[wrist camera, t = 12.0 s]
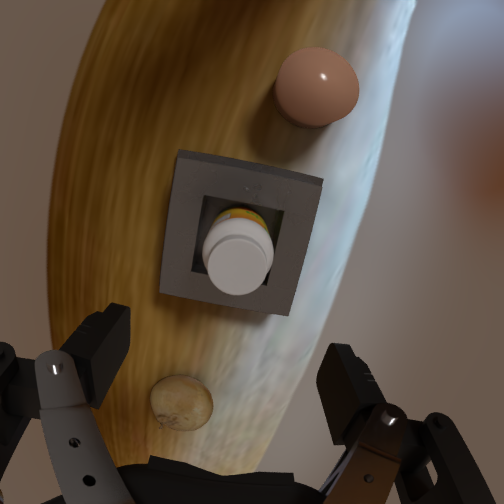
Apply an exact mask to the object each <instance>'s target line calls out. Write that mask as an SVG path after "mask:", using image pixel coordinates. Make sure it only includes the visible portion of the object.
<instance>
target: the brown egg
mask: <svg viewBox="0 0 504 504" xmlns="http://www.w3.org/2000/svg"><path fill="white" fill-rule="evenodd" d="M358 97H359V83H358V79H357V76H356V74H355V72H354V70H353V68H352V67H351V65H350V64H349V63H348V62H347V61H346V60H345V59H344V58H343V57H341V56H340V55H338V54H337V53H335V52H333V51H331V50H328V49H324V48H319V47H309V48H303V49H300V50H298V51H296V52H294V53H292V54H291V55H290V56H288V58H287V59H286V60H285V61H284V63H283V64H282V66H281V68H280V71H279V73H278V76H277V78H276V81H275V83H274V87H273V100H274V103H275V106H276V108H277V110H278V111H279V113H280V114H281V115H282V116H283V117H284V118H285V119H286V120H287V121H288V122H290V123H292V124H294V125H296V126H298V127H302V128H308V129H314V128H320V127H323V126H325V125H328V124H330V123H332V122H335V121H337V120H339V119H341V118H343V117H345V116H346V115H348V114H349V113H350V112H351V111H352V110H353V108H354V107H355V105H356V103H357V101H358Z"/></svg>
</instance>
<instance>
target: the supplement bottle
mask: <svg viewBox="0 0 504 504" xmlns="http://www.w3.org/2000/svg"><path fill="white" fill-rule="evenodd" d="M202 256H203V262H204V265H205V267H206V269H207V271H208V275H209V278H210V280H211V281H212V283H213V284H214V285H215V286H216V287H217V288H218V289H219V290H221V291H222V292H224V293H227V294H230V295H244V294H248V293H250V292H252V291H254V290H256V289H257V288H258V287H259V286H260V285H261V284H262V282H263V281H264V279H265V277H266V274H267V273H268V271H269V270H270V268H271V265H272V262H273V257H274V250H273V244H272V241H271V238H270V235H269V232H268V229H267V226H266V223H265V221H264V219H263V218H262V216H261V215H260V214H259V213H258V212H257V211H255V210H253V209H252V208H249V207H246V206H233V207H230V208H227V209H225V210H224V211H222V212H221V213H220V214H219V215H218V216H217V217H216V218H215V220H214V222H213V224H212V226H211V228H210V230H209V232H208V234H207V236H206V239H205V241H204V245H203V250H202Z"/></svg>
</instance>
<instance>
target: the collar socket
mask: <svg viewBox="0 0 504 504" xmlns="http://www.w3.org/2000/svg"><path fill="white" fill-rule="evenodd" d="M322 184H323V179H322V178H318V177H315V176H311V175H307V174H302V173H298V172H294V171H290V170H285V169H281V168H277V167H272V166H268V165H263V164H258V163H253V162H248V161H243V160H238V159H233V158H228V157H222V156H217V155H211V154H205V153H199V152H193V151H186V150H180V149H179V151H178V156H177V161H176V167H175V172H174V178H173V184H172V190H171V196H170V202H169V209H168V216H167V223H166V230H165V238H164V246H163V254H162V263H161V272H160V282H159V286H160V291H159V293H164V294H168V295H173V296H178V297H183V298H188V299H193V300H198V301H203V302H208V303H213V304H219V305H224V306H229V307H235V308H241V309H246V310H252V311H258V312H264V313H270V314H277V315H283V316H289V312H290V309H291V305H292V302H293V298H294V295H295V291H296V288H297V284H298V281H299V277H300V274H301V270H302V266H303V263H304V259H305V255H306V251H307V248H308V244H309V240H310V236H311V232H312V228H313V224H314V220H315V216H316V212H317V208H318V204H319V200H320V196H321V191H322ZM233 206H246V207H249V208H252V209H253V210H255V211H257V212H258V213H259V214H260V215H261V216H262V218H263V219H264V221H265V223H266V226H267V229H268V232H269V235H270V238H271V241H272V244H273V250H274V257H273V262H272V265H271V268H270V270H269V271H268V273H267V274H266V277H265V279H264V281H263V282H262V284H261V285H260V286H259V287H258V288H257V289H256V290H254V291H252V292H250V293H248V294H244V295H230V294H227V293H224V292H222V291H221V290H219V289H218V288H217V287H216V286H215V285H214V284H213V283H212V281H211V280H210V278H209V275H208V271H207V269H206V267H205V265H204V262H203V256H202V250H203V245H204V241H205V239H206V236H207V234H208V232H209V230H210V228H211V226H212V224H213V222H214V220H215V218H216V217H217V216H218V215H219V214H220V213H221V212H222V211H224V210H225V209H227V208H230V207H233Z"/></svg>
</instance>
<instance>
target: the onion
mask: <svg viewBox="0 0 504 504" xmlns="http://www.w3.org/2000/svg"><path fill="white" fill-rule="evenodd" d="M150 403H151V407H152V410H153V412H154V414H155V416H156V419H157V420H158V422H160V424H161V427H159V429H162V428H163V424H164V425H166V426H167V427H169V428H171V429H174V430H177V431H193V430H197V429H199V428H201V427H202V426H203V425H204V424H206V423H207V422H208V420H209V419H210V417H211V415H212V412H213V399H212V396H211V394H210V392H209V390H208V389H207V388H206V387H205V386H204V385H203V384H202V382H200V381H199V380H196V379H195V378H192V377H189V376H185V375H174V376H169V377H166V378H164V379H162V380H160V381H159V382H158V383H157V384H156V385H154V387H153V389H152V391H151V395H150Z"/></svg>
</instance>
